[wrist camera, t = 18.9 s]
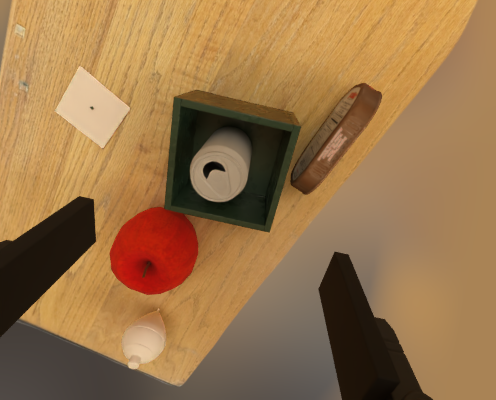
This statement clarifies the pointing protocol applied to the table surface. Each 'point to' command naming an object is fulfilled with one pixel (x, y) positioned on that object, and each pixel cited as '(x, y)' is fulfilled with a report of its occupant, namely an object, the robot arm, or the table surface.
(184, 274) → the apple
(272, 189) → the waste bin
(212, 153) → the beverage can
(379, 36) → the table surface
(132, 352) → the spinning top
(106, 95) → the coaster
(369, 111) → the tin
